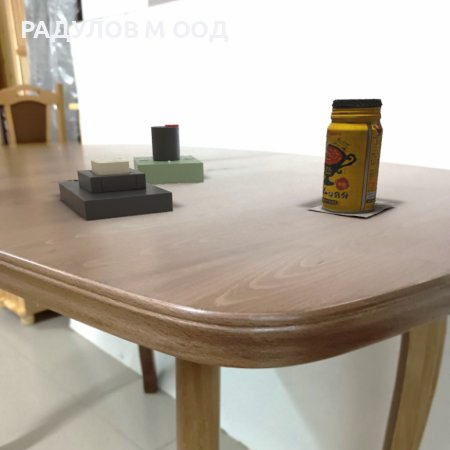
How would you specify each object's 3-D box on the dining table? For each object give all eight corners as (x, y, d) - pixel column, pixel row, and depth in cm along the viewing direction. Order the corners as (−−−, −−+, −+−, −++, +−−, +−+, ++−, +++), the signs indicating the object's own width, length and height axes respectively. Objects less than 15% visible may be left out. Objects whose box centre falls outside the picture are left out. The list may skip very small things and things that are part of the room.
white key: (92, 174, 59) (90, 159, 59) (121, 172, 61) (119, 158, 60) (100, 178, 56) (98, 163, 56) (130, 176, 58) (128, 161, 57)
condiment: (306, 210, 57) (313, 98, 52) (339, 199, 63) (348, 98, 58) (366, 219, 52) (379, 98, 48) (395, 206, 58) (409, 98, 54)
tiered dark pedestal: (60, 199, 64) (56, 168, 62) (134, 192, 68) (132, 163, 66) (86, 221, 52) (82, 183, 51) (173, 211, 56) (171, 176, 55)
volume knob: (154, 161, 76) (152, 125, 74) (151, 158, 80) (149, 124, 78) (182, 160, 77) (180, 125, 75) (178, 157, 81) (176, 123, 79)
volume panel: (134, 175, 84) (133, 156, 83) (191, 173, 86) (191, 154, 85) (139, 185, 74) (137, 163, 73) (203, 182, 76) (203, 161, 75)
